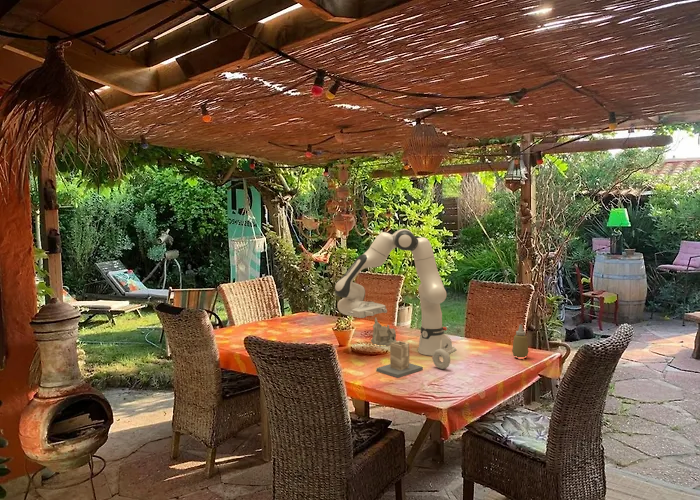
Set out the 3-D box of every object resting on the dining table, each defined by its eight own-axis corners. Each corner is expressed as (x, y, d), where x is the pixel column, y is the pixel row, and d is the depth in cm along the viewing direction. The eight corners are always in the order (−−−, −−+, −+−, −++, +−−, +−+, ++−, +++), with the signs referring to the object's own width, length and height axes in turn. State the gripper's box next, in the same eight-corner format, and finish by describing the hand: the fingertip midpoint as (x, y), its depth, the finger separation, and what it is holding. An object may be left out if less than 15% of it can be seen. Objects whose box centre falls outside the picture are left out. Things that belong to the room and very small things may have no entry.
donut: (430, 367, 255) (431, 347, 254) (435, 365, 257) (435, 346, 256) (447, 371, 247) (447, 351, 246) (451, 370, 250) (451, 350, 249)
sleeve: (399, 364, 254) (399, 340, 253) (409, 367, 249) (409, 343, 248) (390, 367, 250) (390, 343, 249) (400, 370, 245) (400, 345, 244)
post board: (401, 363, 261) (401, 344, 260) (422, 369, 250) (422, 350, 250) (376, 371, 249) (376, 351, 248) (397, 377, 238) (397, 357, 238)
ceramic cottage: (373, 346, 295) (374, 320, 294) (369, 340, 311) (370, 315, 310) (400, 347, 296) (401, 321, 296) (394, 341, 313) (395, 316, 312)
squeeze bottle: (527, 356, 272) (528, 323, 271) (528, 361, 265) (529, 326, 263) (511, 355, 275) (512, 322, 273) (512, 359, 267) (513, 325, 266)
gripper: (346, 306, 266) (365, 309, 256) (374, 300, 280) (393, 303, 270) (346, 318, 267) (365, 322, 257) (374, 312, 280) (393, 315, 270)
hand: (379, 312), depth 263 cm, fingers open, 8 cm apart
